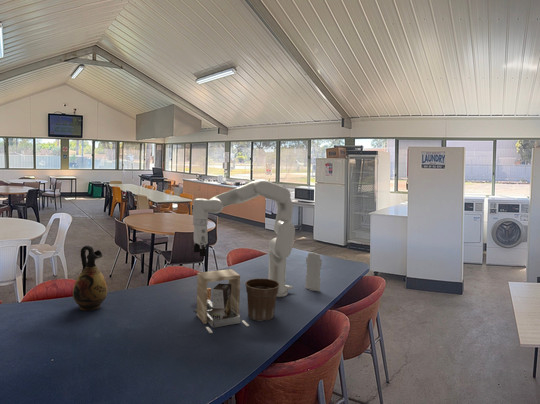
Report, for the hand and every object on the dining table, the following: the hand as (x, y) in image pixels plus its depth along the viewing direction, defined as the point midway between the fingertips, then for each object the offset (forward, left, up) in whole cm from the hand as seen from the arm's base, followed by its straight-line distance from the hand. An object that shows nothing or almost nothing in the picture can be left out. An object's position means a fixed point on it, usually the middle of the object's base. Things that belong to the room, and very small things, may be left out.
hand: (199, 254), depth 200 cm
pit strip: (-1, +17, -24) cm, 29 cm away
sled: (-1, +23, -23) cm, 33 cm away
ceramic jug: (+52, -9, -24) cm, 58 cm away
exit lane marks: (-1, +40, -24) cm, 47 cm away
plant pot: (-19, +36, -24) cm, 47 cm away
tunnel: (-1, +28, -24) cm, 36 cm away
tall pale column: (-65, +12, -24) cm, 70 cm away
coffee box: (-1, +33, -24) cm, 41 cm away
